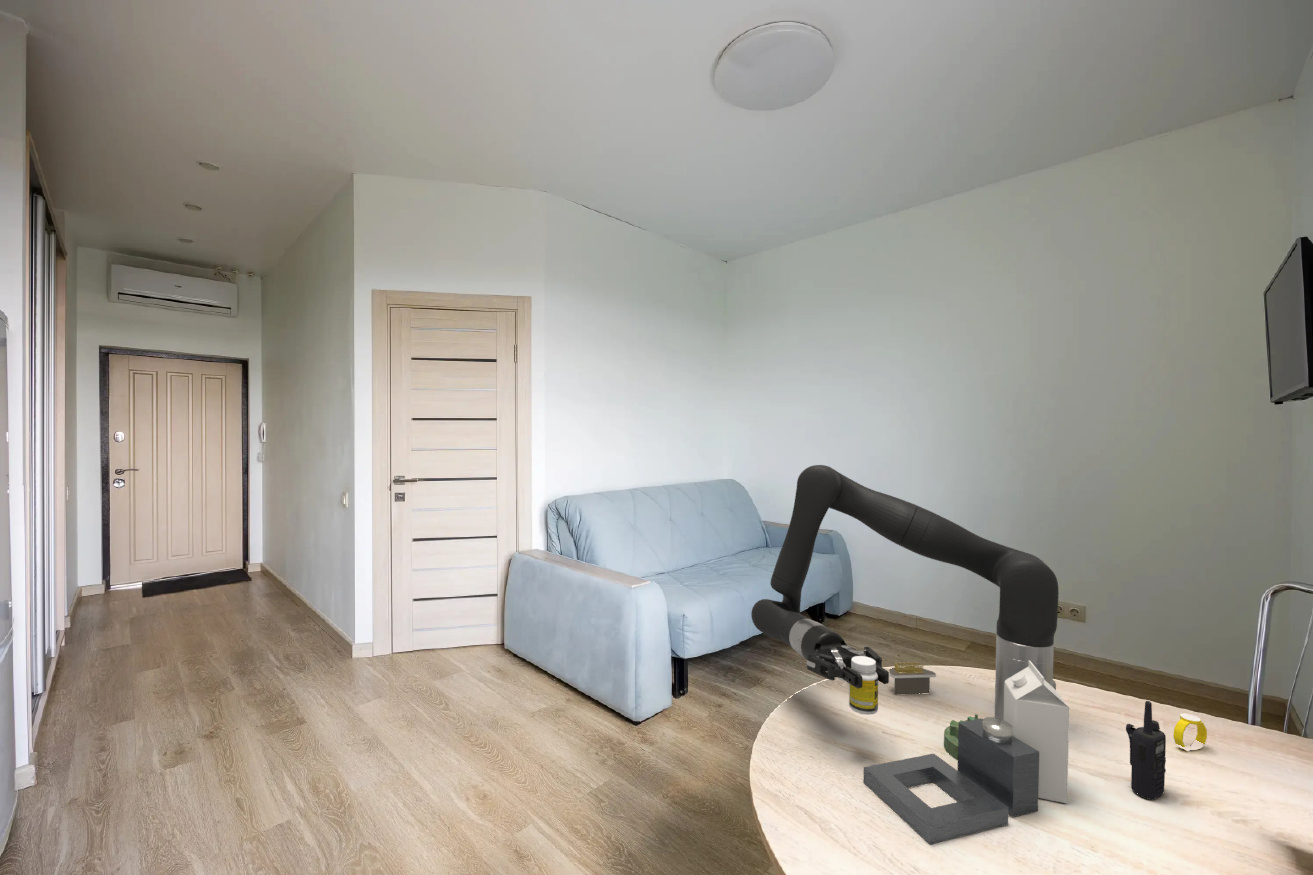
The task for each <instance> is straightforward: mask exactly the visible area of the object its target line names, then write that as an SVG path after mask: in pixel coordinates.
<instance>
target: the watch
mask: <svg viewBox="0 0 1313 875" xmlns="http://www.w3.org/2000/svg"><path fill="white" fill-rule="evenodd" d="M1189 725H1193V726H1194V725H1196V728H1197V729H1196V733H1197V734H1196V736H1195V739H1194V741H1195V740H1197V741H1199V742H1201V743H1203V744H1204V745H1206V743H1207V742H1206V741H1207V739H1208V730H1207V728H1206V725H1205V724H1204V722H1202V719H1201V718H1200V717H1198V716H1196V715H1194V714H1191V713H1185V712H1184V713H1180V714H1179V720H1178V721H1177V722H1176V724H1175V726H1174V728H1173V733H1172V734H1173V740H1174V744H1175V745H1176V744H1178V745H1181V746H1182V747H1185V746H1186V745H1185V744H1184V733H1185V731H1186V730H1187V727H1188V726H1189Z"/></svg>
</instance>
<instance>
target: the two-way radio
mask: <svg viewBox="0 0 1313 875" xmlns="http://www.w3.org/2000/svg"><path fill="white" fill-rule="evenodd" d="M1152 707H1153V704H1152V702H1151V701H1150V700H1146V701H1145V702H1144V714H1143V726H1140V727H1135V725H1134V724H1131V723H1127V724H1126V726H1125V731H1126V734H1127V735H1128V740H1129V764H1130V767H1131V779H1130V781H1131V783H1130V788H1131V790H1132V791H1133V792H1134V793H1135V792H1136V793H1138V794H1137V795H1138V796H1140V797H1142V798H1144V797H1145V798H1144V799H1147V798H1148V800H1149V799H1150V800H1152V799H1153V800H1155V799H1157V798H1159V797H1161V796H1162V795H1163V794H1164V793H1165V782H1166V781H1165V779H1166V778H1165V774H1166V772H1167V770H1166V761H1167V760H1166V758H1167V757H1166V743H1167V741H1166V734H1165V732H1164V731H1162V730H1161V728H1160V722H1158V721H1157V720H1154V719H1153V708H1152ZM1163 792H1164V793H1163ZM1136 793H1135V794H1136ZM1160 795H1161V796H1160ZM1158 796H1159V797H1158Z"/></svg>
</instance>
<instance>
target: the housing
mask: <svg viewBox="0 0 1313 875" xmlns="http://www.w3.org/2000/svg"><path fill="white" fill-rule="evenodd" d="M964 721H965V722H959V721H958V722H959V725H958V760H957V769H956V768H954V767H953V766H952V765H951V764H949V763H948V762H946V761H945V760H944V759H943V758H941V757H940V756H938V755H937V754H935V753H930V754H925V755H924V754H923V755H920V756H914V757H910V758H904V759H899V760H898V759H897V760H894V761H888V762H884V763H879V764H872V765H868V766H863V784H865V785H866V787H867V788H869V789H870V790H871V791H872V792H873V793H874V794H875V795H876V796H878V797H879V799H880V800H882V801H883V803H885V804H886V806H888V807H889V808H890V809H891V810H892V811H893V812H894V813H895V814H896V815H898V817H900V818H901V820H902V821H904V822H905V823H906V824H908V826H909V827H910V828H911V829H912V830H914V832H916V834H918V835H919V837H921V838H922V839H923V840H924V841H925V842H927V843H928V845H933V844H937V843H941V842H946V841H949V840H953V839H957V838H961V837H964V836H965V837H966V836H968V835H973V834H977V833H981V832H985V831H988V830H993V829H997V828H1001V827H1005V826H1008V825H1009V816H1010V817H1011V818H1016V817H1020V816H1024V815H1028V814H1031V813H1036V812H1038V811H1039V798H1038V788H1039V751H1037V750H1036V749H1034V748H1032V747H1031V746H1029V745H1027V744H1025V743H1024V742H1022V741H1020V740H1019V739H1017V738H1015V737H1013V736H1012V725H1011V724H1009V723H1008V722H1006V721H1004V720H1001V719H998V718H995V717H992V716H991V717H990V716H988V717H987V716H986V717H984V718H983V717H982V718H981V719H980V718H979V719H976V720H970V721H966V720H964ZM930 783H933V784H935V785H936V786H937V787H938V788H940V789H941V790H942V791H944V792H945V793H946V794H947V795H948V796H950V797H951V798H953V800H955V801H956V802H951V803H948V804H944V805H940V806H934V807H931V806H929V805H928V804H927V803H926V802H924V801H923V800H922V799H921V798H920V797H919V796H917V795H916V794H915V793H914V792H913V791H912V790H910V788H911V787H912V788H913V787H916V786H921V785H925V784H930Z"/></svg>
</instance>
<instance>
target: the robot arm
mask: <svg viewBox="0 0 1313 875" xmlns="http://www.w3.org/2000/svg"><path fill="white" fill-rule="evenodd" d="M829 509H832V510H835V511H837V512H839V513H842V514H845V515H848V516H849V517H851V518H853V519H856V520H858V521H859V522H861V523H862V524H863V525H865V526H867V528H870V530H872V531H873V532H876V533H877V534H878V535H880V536H882V537H884V538H885V539H886V540H888V541H889V542H891V543H894V544H895V545H898V546H899V547H902V548H904V549H906V550H909V551H911V552H912V553H915V554H917V555H920V556H922V557H925V558H929V559H931V560H934V561H938V562H941V563H944V564H945V563H946V564H949V565H953V566H957V567H959V568H962V569H965V570H968V571H970V572H972V573H974V574H975V575H977V576H980V577H981V578H983V579H985V580H987V581H988V582H991V583H992V584H994V585H996V586H997V587H999V609H998V610H999V611H998V618H997V621H996V630H995V632H996V633H995V634H996V638H995V640H996V642H995V643H996V644H995V684H994V686H995V687H994V718H998V719H1001V720H1004V683H1005V680H1007V679H1008V678H1010V677H1012V676H1013V675H1015V674H1017V673H1018V672H1020V671H1022V670H1023V669H1025V668H1027V667H1028V666H1029V660H1030V661H1031V662H1032V664H1033V665H1034V666H1035V667H1036V669H1037V670H1038V671H1039V672H1040V674H1041V675H1042V676H1043V677H1044V680H1045V681H1046V682H1048V683H1049V684H1050V685H1051V686H1052V687H1053V688H1054V689H1055V690H1056V691H1057V683H1056V681H1055V680H1054V646H1055V645H1054V643H1055V642H1054V641H1055V640H1054V639H1055V633H1056V632H1057V629H1058V628H1057V627H1058V611H1059V590H1060V589H1059V582H1058V581H1059V580H1058V579H1057V576H1056V573H1055V572H1054V571H1053V570H1052V569H1051V568H1050V567H1049V565H1047V564H1046V563H1045V562H1044V561H1043V560H1042V559H1040V558H1039V557H1037V556H1036V555H1033V554H1031V553H1028V552H1025V551H1022V550H1019V549H1015V548H1012V547H1009V546H1006V545H1003V544H1002V543H1001V544H1000V543H998V542H996V541H992V540H989V539H987V538H984V537H982V536H980V535H977V534H975V533H973V532H971V531H970V530H968V529H966V528H965V527H963V526H962V525H960V524H957V523H956V522H954V521H952V520H950V519H947V518H945V517H943V516H941V515H939V514H937V513H935V512H933V511H931V510H929V509H926V508H923V507H921V506H919V505H917V504H915V503H912V502H910V501H907V500H905V499H901V498H899V497H895V496H893V495H890V494H887V493H883V492H881V491H876V490H874V489H871V488H869V487H866V486H864V485H862V484H860V483H858V482H857V481H854V480H853V479H851V478H849V477H847V476H846V475H844V474H842V473H841V472H838V470H836V469H834V468H832V467H831V466H828V465H824V464H814V465H811V466H808V467H806V468H805V469H804V470H802V471H801V473H800V474H799V475H798V477H797V481H796V490H795V497H794V504H793V508H792V514H791V518H790V521H789V525H788V529H787V531H786V535H785V538H784V540H783V543H782V546H781V548H780V551H779V554H778V557H777V560H776V563H775V566H774V569H773V573H772V575H771V578H770V587H771V588H772V590H774V591H775V592H777V593H778V594H780V595H782V601H777V600H773V599H768V598H767V599H766V598H764V599H758V601H756V603H754V605H753V606H752V608H751V614H750V615H751V616H750V617H751V620H752V623H753V626H755V628H756V629H757V630H758V631H759V632H761V633H763V634H765V635H767V636H769V637H772V638H774V639H776V640H779V641H780V642H782V643H784V644H785V645H787V646H788V647H790V648H791V649H793V651H795V652H796V653H797V654H798V655H799V656H801V658H803V659H804V660H806V669H807V670H808V671H810V672H813V673H814V674H816V675H819V676H821V677H823V678H824V679H827V680H829V681H835V679H836V678H837V679H838V680H840V681H845V682H846V683H848V685H849V684H851V685H853V686H855V687H856V688H862V676H861V675H860V674H859V673H857V672H856V671H854V670H853V669H851V668H852V667H851V659H852V658H853V657H855V656H865V657H869V658H872V659H874V660H875V662H876V671H875V672H876V673H877V675H878V682H880V683H881V684H883V685H887V684H889V683H890V680H889V679H890V674H889V670H887V669H886V668H884V667H882V666H883V665H882V663H883V658H882V657H881V656H880V655H879V654H878V653H877V652H876V651H874V649H872V648H871V647H870V646H864V647H863V650H858V649H856V648H854V647H851V646H848V645H847V643H846V642H845V639H844V638H843V637H842V636H841V635H840V634H839V633H837V632H835V630H832V629H830V628H829V627H827V626H825V625H824V624H821V623H820V622H818V621H815V620H812V619H811V618H809V617H807V616H806V615H803V614H802V613H801V601H802V600H801V598H802V590H803V587H804V585H805V581H806V578H807V575H808V573H809V572H808V571H809V569H810V565H811V562H812V558H813V553H814V550H815V544H816V540H817V536H818V533H819V530H820V528H821V524H822V522H823V520H824V519H825V516H826V514H827V513H828V511H829Z"/></svg>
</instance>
